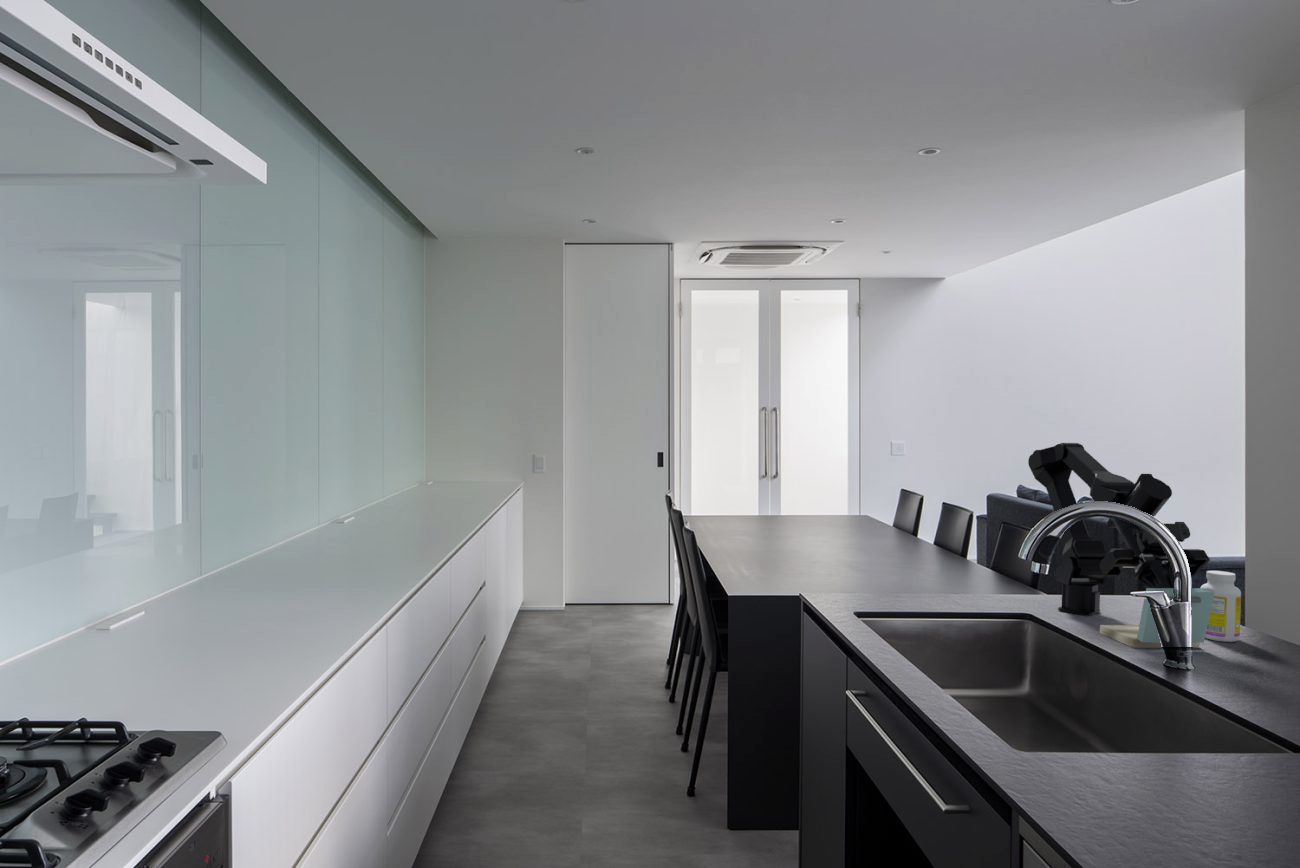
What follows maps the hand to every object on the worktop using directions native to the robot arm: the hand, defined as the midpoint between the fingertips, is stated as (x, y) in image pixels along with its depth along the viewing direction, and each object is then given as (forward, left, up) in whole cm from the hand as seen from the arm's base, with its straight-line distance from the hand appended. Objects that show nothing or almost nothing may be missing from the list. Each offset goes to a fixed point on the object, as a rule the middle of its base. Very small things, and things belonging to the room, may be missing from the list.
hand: (1174, 600), depth 153 cm
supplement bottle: (+3, +17, -9) cm, 20 cm away
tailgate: (0, 0, -8) cm, 8 cm away
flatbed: (-5, +4, -9) cm, 11 cm away
